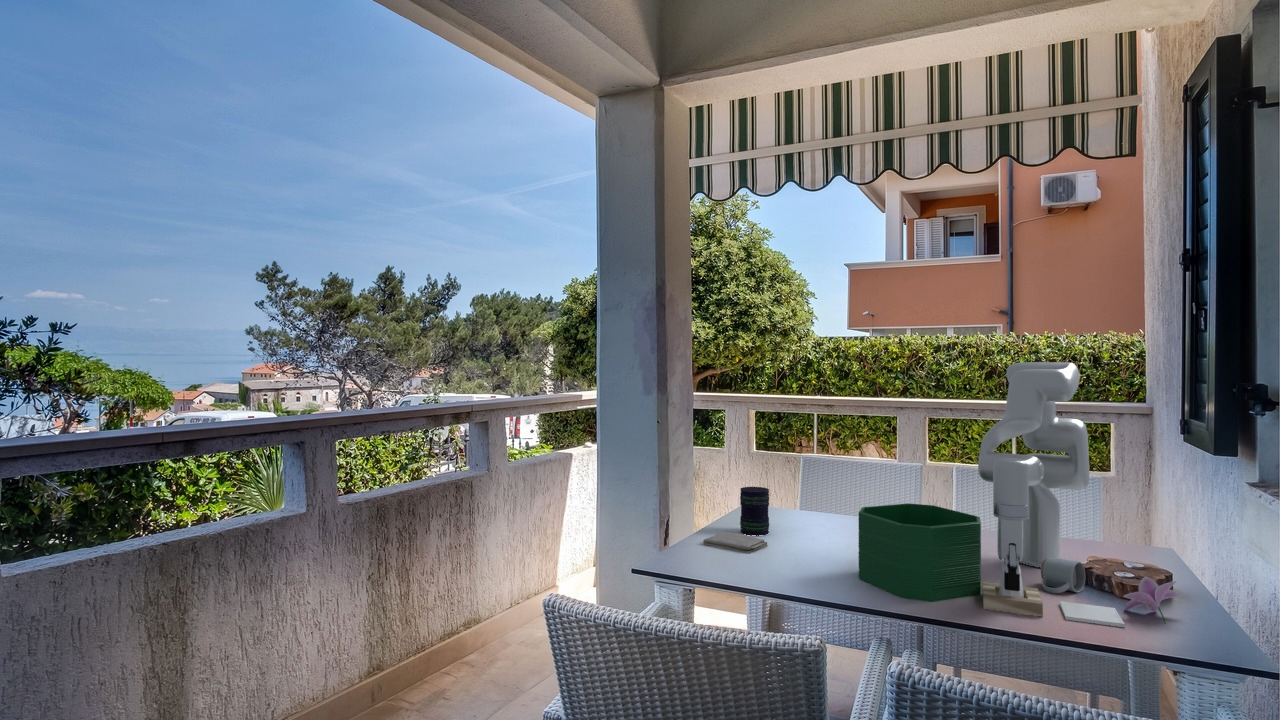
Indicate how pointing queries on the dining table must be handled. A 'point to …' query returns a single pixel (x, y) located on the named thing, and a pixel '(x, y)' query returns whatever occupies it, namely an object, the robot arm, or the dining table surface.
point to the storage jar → (754, 511)
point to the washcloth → (736, 542)
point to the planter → (920, 551)
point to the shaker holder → (1012, 600)
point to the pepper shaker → (1010, 592)
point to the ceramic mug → (1062, 575)
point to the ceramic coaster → (1091, 614)
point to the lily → (1150, 595)
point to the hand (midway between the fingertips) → (1011, 586)
